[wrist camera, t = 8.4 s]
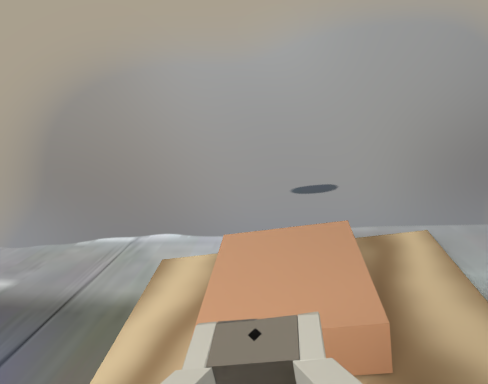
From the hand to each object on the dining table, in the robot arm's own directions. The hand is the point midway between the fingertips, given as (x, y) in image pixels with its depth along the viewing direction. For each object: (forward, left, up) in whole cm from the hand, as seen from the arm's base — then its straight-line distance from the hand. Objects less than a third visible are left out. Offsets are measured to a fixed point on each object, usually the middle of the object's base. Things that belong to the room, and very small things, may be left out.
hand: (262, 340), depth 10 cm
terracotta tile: (0, -9, -8) cm, 12 cm away
